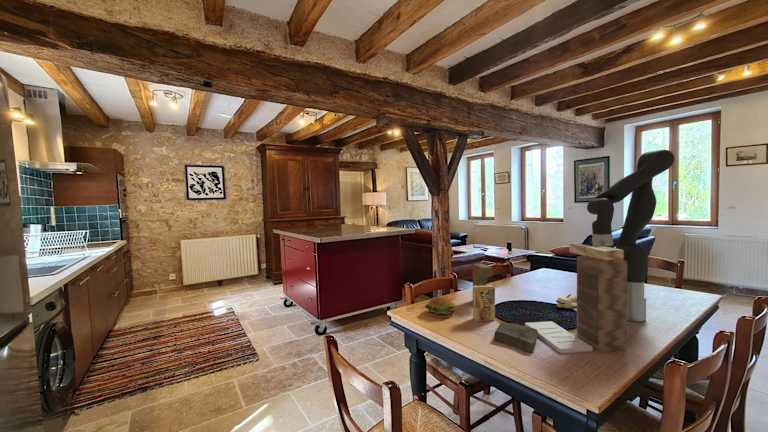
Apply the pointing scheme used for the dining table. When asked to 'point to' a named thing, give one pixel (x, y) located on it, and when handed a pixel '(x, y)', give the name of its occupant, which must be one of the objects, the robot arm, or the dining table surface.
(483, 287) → the candy box
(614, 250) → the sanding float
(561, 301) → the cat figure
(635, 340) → the dining table surface
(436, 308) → the food
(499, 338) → the marble piece
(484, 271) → the decorative block
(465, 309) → the dining table surface
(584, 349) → the grey board
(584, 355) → the dining table surface
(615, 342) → the zigzag patterned tall block
